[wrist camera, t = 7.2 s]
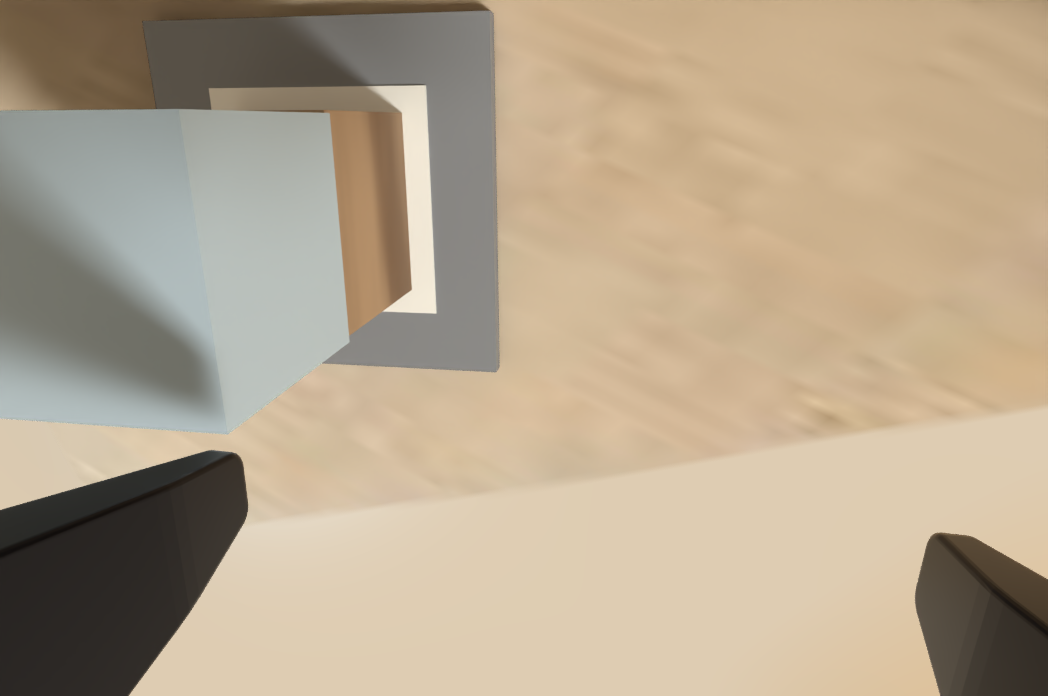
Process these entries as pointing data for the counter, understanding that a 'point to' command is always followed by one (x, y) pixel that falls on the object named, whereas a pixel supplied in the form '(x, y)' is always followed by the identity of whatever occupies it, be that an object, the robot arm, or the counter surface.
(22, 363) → the bluegrey block
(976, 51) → the counter surface
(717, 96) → the counter surface
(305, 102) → the pad
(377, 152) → the walnut block
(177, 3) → the counter surface
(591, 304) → the counter surface
